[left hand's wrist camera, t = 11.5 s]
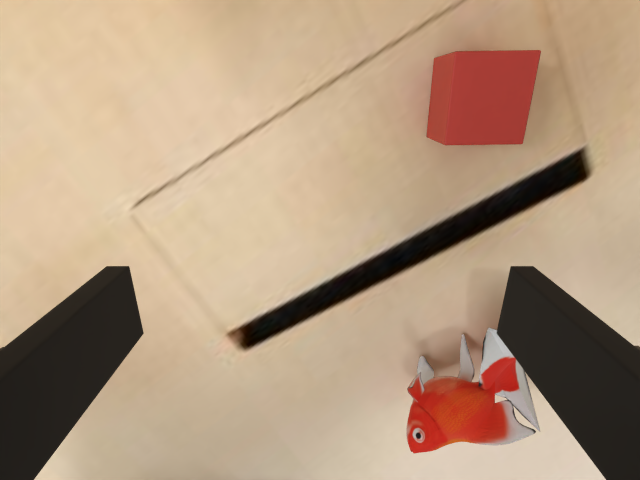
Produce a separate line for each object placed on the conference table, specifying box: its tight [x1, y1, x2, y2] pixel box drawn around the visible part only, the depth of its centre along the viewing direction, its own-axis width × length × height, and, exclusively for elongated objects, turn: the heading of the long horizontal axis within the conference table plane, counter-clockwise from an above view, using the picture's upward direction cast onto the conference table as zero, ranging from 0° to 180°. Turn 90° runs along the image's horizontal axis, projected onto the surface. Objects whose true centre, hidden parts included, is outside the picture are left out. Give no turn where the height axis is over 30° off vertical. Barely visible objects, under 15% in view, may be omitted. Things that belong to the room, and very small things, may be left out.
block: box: [427, 50, 541, 145], centre depth 23 cm, size 5×5×4 cm
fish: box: [407, 328, 540, 453], centre depth 29 cm, size 11×16×10 cm
